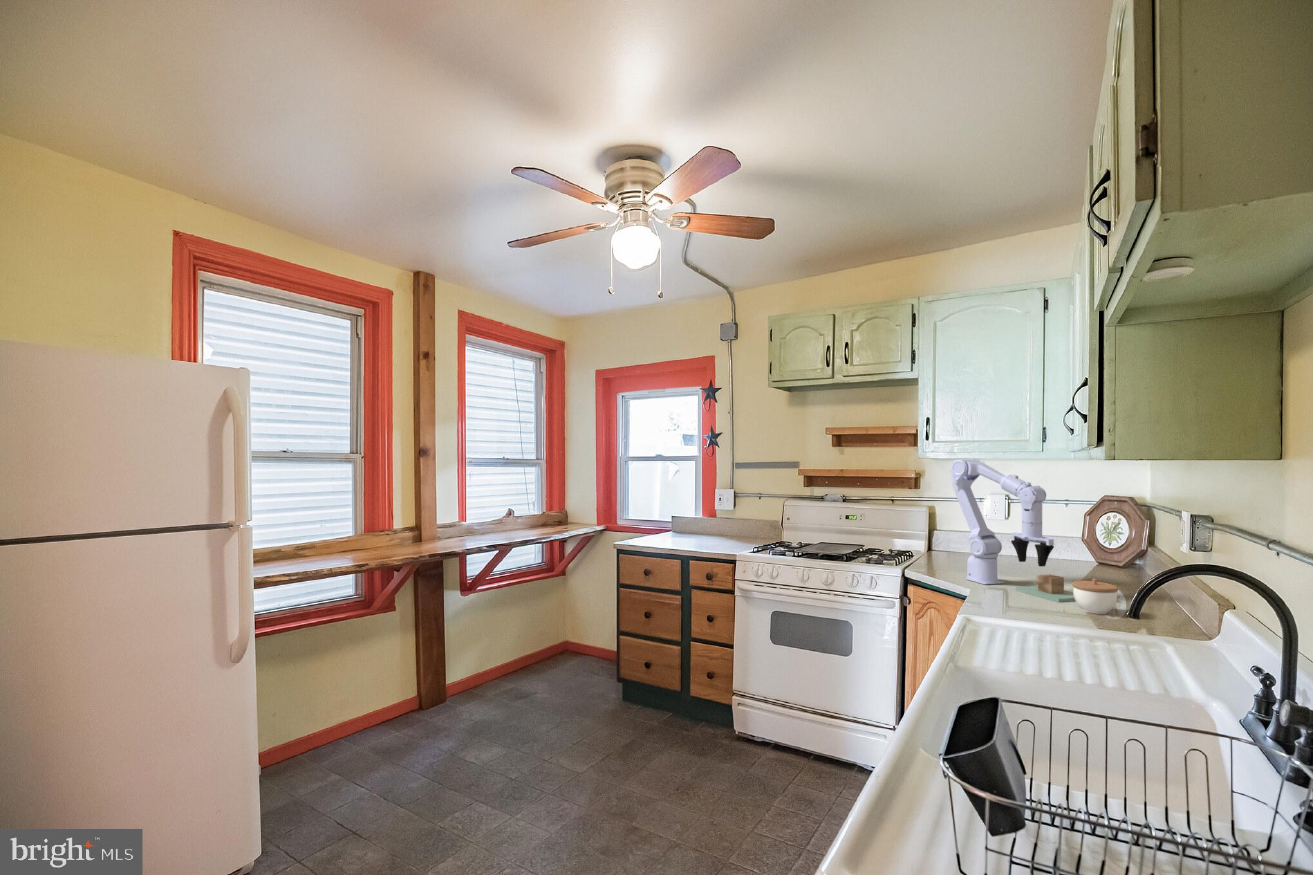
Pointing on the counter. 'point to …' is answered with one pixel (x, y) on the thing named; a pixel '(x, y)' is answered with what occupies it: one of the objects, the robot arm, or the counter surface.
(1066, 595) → the sage board
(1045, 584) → the walnut block
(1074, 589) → the lidded jar
